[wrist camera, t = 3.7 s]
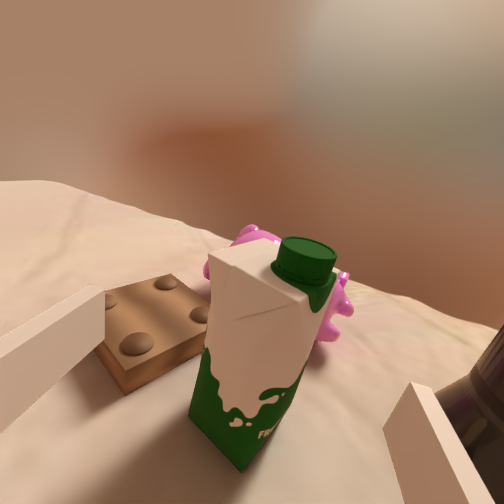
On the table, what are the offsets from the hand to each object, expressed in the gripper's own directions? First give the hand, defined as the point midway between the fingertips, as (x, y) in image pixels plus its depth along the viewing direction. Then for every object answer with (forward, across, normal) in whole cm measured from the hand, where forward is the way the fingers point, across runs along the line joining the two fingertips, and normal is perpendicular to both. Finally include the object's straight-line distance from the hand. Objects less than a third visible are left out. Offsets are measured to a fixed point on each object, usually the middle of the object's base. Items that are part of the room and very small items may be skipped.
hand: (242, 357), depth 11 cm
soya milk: (+10, +1, -18) cm, 20 cm away
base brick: (+18, -13, -18) cm, 29 cm away
